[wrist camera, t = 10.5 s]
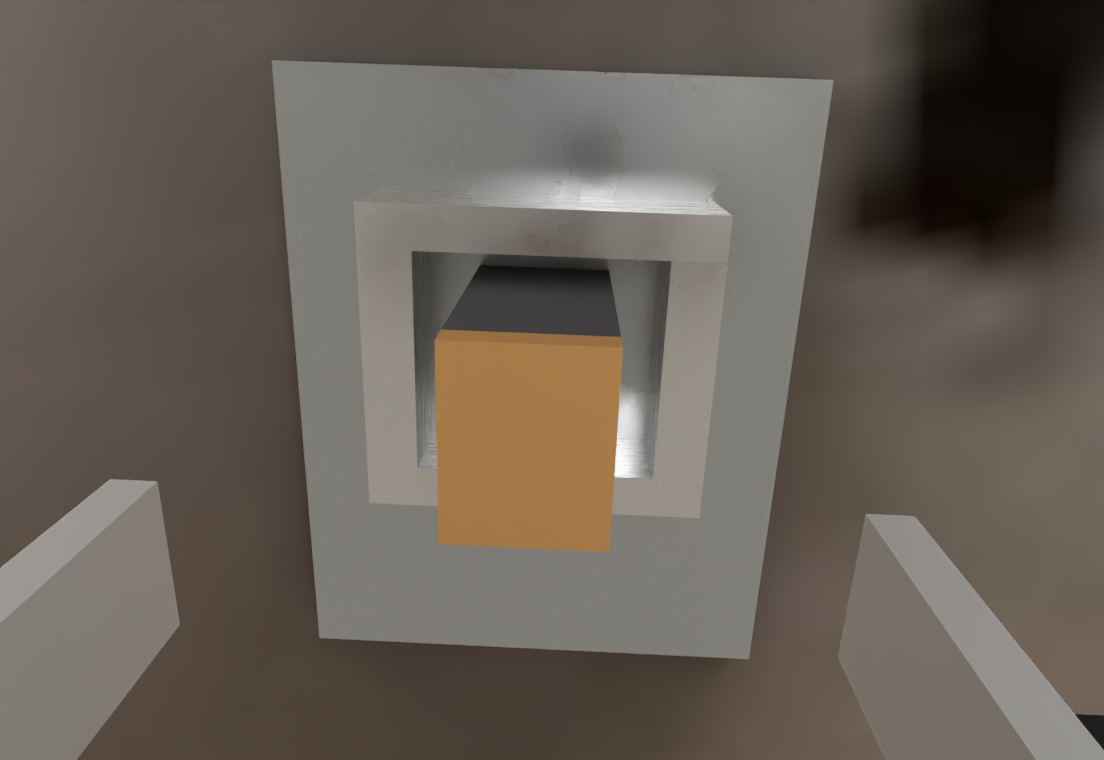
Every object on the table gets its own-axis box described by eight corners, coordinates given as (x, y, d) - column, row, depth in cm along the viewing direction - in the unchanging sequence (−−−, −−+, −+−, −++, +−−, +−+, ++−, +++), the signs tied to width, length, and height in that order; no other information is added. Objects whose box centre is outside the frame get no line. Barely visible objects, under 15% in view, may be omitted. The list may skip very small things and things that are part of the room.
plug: (479, 265, 24) (434, 339, 16) (609, 270, 24) (623, 347, 16) (479, 414, 26) (438, 544, 18) (600, 419, 26) (609, 552, 18)
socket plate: (283, 62, 23) (226, 54, 19) (823, 80, 23) (871, 76, 19) (327, 621, 30) (291, 696, 26) (743, 641, 30) (767, 720, 26)
